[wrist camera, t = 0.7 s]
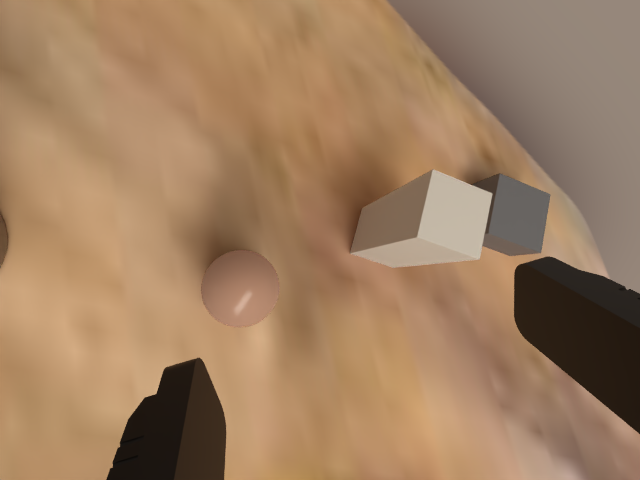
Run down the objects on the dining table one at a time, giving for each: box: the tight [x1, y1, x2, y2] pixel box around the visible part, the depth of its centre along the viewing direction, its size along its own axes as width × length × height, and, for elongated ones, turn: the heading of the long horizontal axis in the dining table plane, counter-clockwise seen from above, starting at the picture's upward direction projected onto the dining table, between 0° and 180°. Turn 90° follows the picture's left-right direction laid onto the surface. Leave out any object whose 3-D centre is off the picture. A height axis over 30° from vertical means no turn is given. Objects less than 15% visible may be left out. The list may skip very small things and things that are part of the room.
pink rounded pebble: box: [201, 250, 280, 327], centre depth 27 cm, size 5×5×7 cm
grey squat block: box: [473, 173, 550, 256], centre depth 36 cm, size 6×6×4 cm
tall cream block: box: [350, 170, 492, 268], centre depth 28 cm, size 4×4×12 cm
